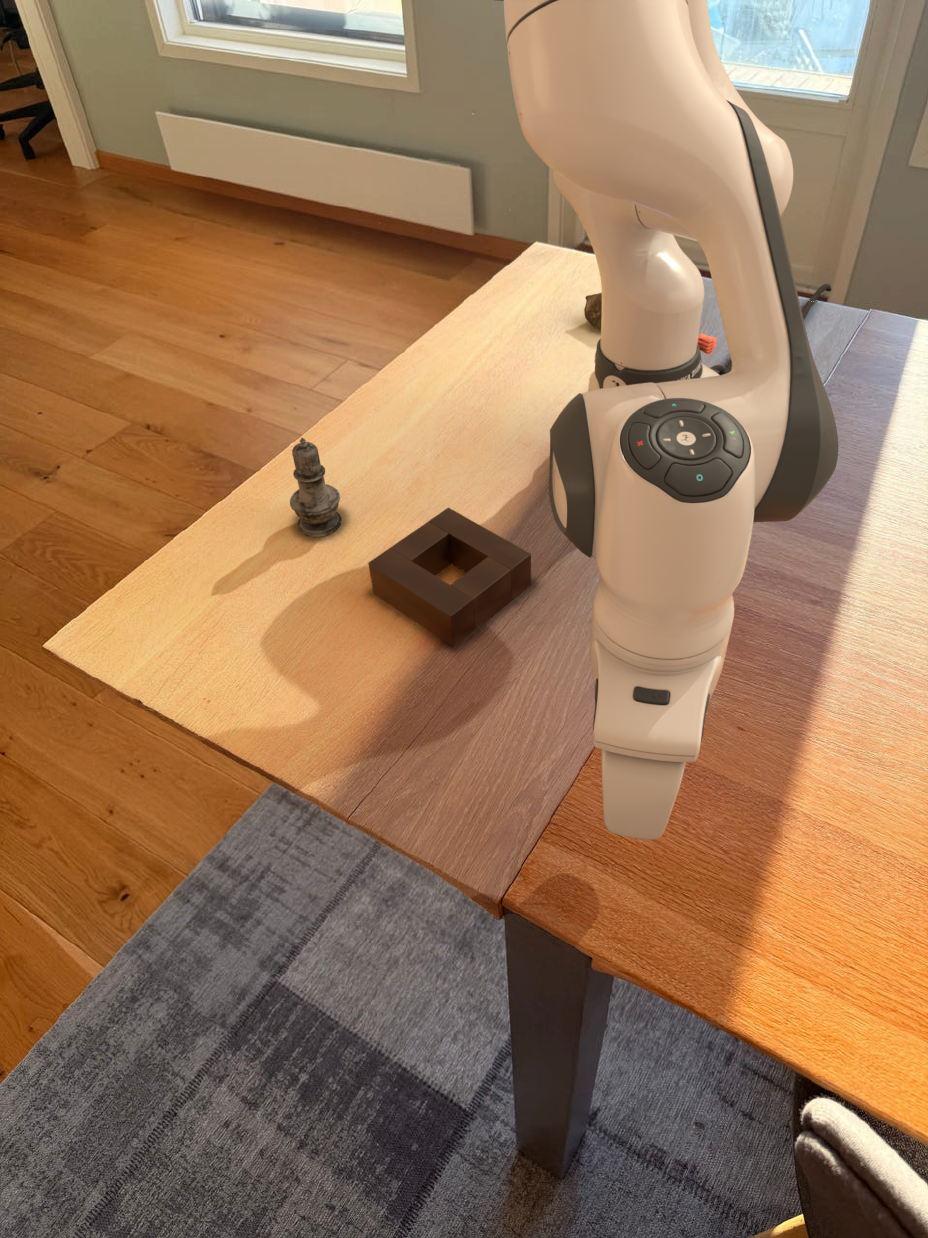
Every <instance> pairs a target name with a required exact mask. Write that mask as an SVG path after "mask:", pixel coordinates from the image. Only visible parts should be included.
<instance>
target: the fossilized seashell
mask: <svg viewBox="0 0 928 1238" xmlns="http://www.w3.org/2000/svg"><path fill="white" fill-rule="evenodd" d="M583 311H584V317H585V320H586V322H588V324H589V325H590V326H591V327H593V328H594V329H596V330H601V318H602V291H600V292H598V293H594V294H588V295H586V296H585V304H584V309H583Z"/></svg>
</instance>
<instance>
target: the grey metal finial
mask: <svg viewBox="0 0 928 1238" xmlns="http://www.w3.org/2000/svg"><path fill="white" fill-rule="evenodd" d="M291 451H292V452H291V455H292V459H293V464H294V468H295V469H294V470H293V472H292V473H293V477H294V479H295V480H297V485H298V489H297V490H296V491H295V492H293V494H292V495H291V497H290V498H289V506H290V508H291V510H292V511H293V512H294V513H295V514H296V516H297V517H298V520H297V529H298V531H299V533H301V534H302V535H304V536H306V537H311V538H321V537H326V536H330V535H331V534H334V533H335V532H336V531H338V530H339V528H340V527H341V526H342V523H343V518H342V515H341V513H339V512H338V507H339V503H340V500H341V493H340V492H339V489H337V488H336V487H334V486H332V485H330V484H327V483H326V481H325V475H326V468H325V467H324V465H322V464H321V459H320V454H319V449H318V446H317V445H315V444H314V443H313V442H310V441H307V440H306V439H305V438H303V437H301V438H300V440H299V442H298V443H297V444H296V445H294V446H293V448H292V450H291Z"/></svg>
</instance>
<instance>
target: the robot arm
mask: <svg viewBox="0 0 928 1238" xmlns="http://www.w3.org/2000/svg"><path fill="white" fill-rule="evenodd" d="M494 1H497V2H503V12H504V13H503V15H504V17H503V18H504V28H505V40H506V41H505V42H506V45H507V47H506V49H507V50H506V51H507V59H508V68H509V75H510V81H511V82H510V83H511V89H512V95H513V101H514V105H515V110H516V114H517V118H518V122H519V126H520V130H521V132H522V135H523V137H524V139H525V141H526V143H527V144H528V145H529V147H530V149H531V150H532V151H533V152H534V154H535V155H536V156H537V157H538V159H539V160H540V161H541V162H543V163H544V165H546V166H547V167H548V168H549V169H550V170H551V173H552V179H553V182H554V185H555V187H556V189H557V191H558V193H559V194H560V195H561V196H562V197H563V199H565V201H566V202H567V203H568V204H569V205H570V207H571V208H572V209H573V210H574V213H575V214H576V215H577V217H578V219H579V220H580V222H581V224H582V226H583V228H584V230H585V233H586V234H587V237H588V240H589V242H590V245H591V247H592V251H593V253H594V256H595V260H596V263H597V267H598V272H599V276H600V285H601V286H600V287H601V292H602V318H601V329H600V338H599V340H598V341H597V344H596V349H595V353H594V362H593V363H594V371H593V372H591V374H590V375H589V378H588V385H587V391H586V392H582V393H580V392H579V393H578V394H576V395H575V396H574V397H573V398H571V400H570V401H569V402H568V403H567V404H566V405H565V407H564V408H563V409H562V410H561V412H560V413H559V414H558V416H557V418H556V419H555V421H554V422H553V424H552V425H551V427H550V429H549V476H548V491H549V492H548V494H549V505H550V508H551V509H550V510H551V513H552V516H553V519H554V521H555V523H556V525H557V527H558V530H560V532H561V533H562V534H563V535H564V536H565V537H566V538H567V540H569V542H570V543H572V544H573V545H574V546H575V548H577V550H579V551H580V552H581V553H582V554H583V555H584V556H585V557H587V558H589V559H590V558H594V559H595V562H596V567H597V571H598V573H599V575H598V582H597V585H596V587H595V591H594V593H593V597H592V603H591V604H592V605H591V618H590V619H591V620H590V635H589V652H588V653H589V654H588V655H589V660H590V666H591V675H592V680H593V685H594V710H593V711H594V712H593V722H592V745H593V747H594V748H596V749H598V750H601V792H602V793H601V794H602V795H601V796H602V810H603V811H602V813H603V814H602V815H603V823H604V826H605V828H606V829H607V830H608V831H609V832H610V833H612V834H614V835H617V836H620V837H626V838H631V839H636V840H646V841H654V840H658V839H660V838H661V837H663V835H664V833H665V832H666V828H667V826H668V823H669V821H670V818H671V814H672V812H673V809H674V806H675V803H676V800H677V798H678V795H679V790H680V788H681V784H682V780H683V777H684V774H685V768H686V765H687V763H692V764H693V763H695V762H696V761H697V760H698V759H699V754H700V751H701V746H702V743H703V742H702V741H703V737H704V729H705V722H706V716H707V712H708V708H709V703H710V700H711V698H712V696H713V694H714V691H715V689H716V687H717V685H718V682H719V679H720V676H721V674H722V671H723V668H724V663H725V659H726V654H727V649H728V646H729V642H730V641H729V640H730V636H731V632H732V627H733V623H734V620H735V619H734V618H735V601H734V595H733V593H734V592H735V590H736V589H737V587H738V586H739V584H740V582H741V580H742V578H743V576H744V574H745V569H746V566H747V562H748V556H749V552H750V551H749V550H750V546H751V541H752V534H753V528H754V527H753V526H754V523H773V522H776V523H777V522H788V521H791V520H793V519H794V518H795V517H797V516H798V515H800V514H801V513H802V512H803V511H804V510H805V509H806V508H808V507H809V505H810V504H811V503H812V502H813V501H814V500H815V499H816V498H817V497H818V496H819V494H820V493H821V492H822V491H823V489H824V488H825V487H826V485H827V484H828V483H829V481H830V480H831V477H832V476H833V475H834V473H835V471H836V467H837V465H838V460H839V459H838V457H839V435H838V428H837V423H836V419H835V415H834V412H833V408H832V405H831V402H830V399H829V396H828V393H827V391H826V388H825V386H824V382H823V381H822V378H821V376H820V373H819V370H818V368H817V365H816V363H815V359H814V356H813V353H812V349H811V345H810V341H809V337H808V332H807V328H806V323H805V319H806V318H807V316H808V314H809V313H810V310H811V308H812V306H813V305H814V303H815V302H817V300H818V299H819V297H820V296H821V295H822V294H823V293H824V292H825V291H826V292H832V290H833V289H832V286H831V284H829V283H823V284H822V285H821V286H820V287H818V288H817V290H815V292H814V293H813V294H812V296H811V297H810V298H809V299H808V300H810V301H808V300H807V301H806V303H805V305H804V306H803V309H802V307H801V306H802V305H801V302H800V298H799V293H798V289H797V284H796V281H795V276H794V271H793V267H792V263H791V258H790V254H789V249H788V244H787V240H786V235H785V231H784V227H783V226H784V225H783V223H782V216H783V214H784V212H785V210H786V208H787V206H788V203H789V201H790V198H791V195H792V191H793V186H794V185H793V184H794V166H793V164H794V163H793V159H792V155H791V151H790V148H789V147H788V145H787V142H786V141H785V140H784V139H783V138H781V137H780V136H779V135H777V134H776V133H775V132H773V131H772V130H771V129H770V128H769V127H767V126H766V125H765V124H764V123H763V122H762V121H761V120H760V119H759V118H758V117H757V116H756V115H755V114H754V112H753V111H752V109H750V107H749V106H748V105H747V103H746V102H745V101H744V99H743V98H742V96H741V95H740V94H739V92H738V91H737V89H736V87H735V85H734V83H733V82H732V80H731V78H730V76H729V75H728V72H727V71H726V69H725V67H724V64H723V63H722V60H721V58H720V55H719V53H718V51H717V48H716V43H715V41H714V36H713V32H712V25H711V19H710V12H709V6H708V0H494ZM676 237H679V238H683V239H686V240H691V241H694V242H697V244H698V245H699V246H700V247H701V249H702V252H703V253H704V255H705V258H706V261H707V264H708V268H709V272H710V277H711V281H712V285H713V290H714V293H715V297H716V302H717V306H718V311H719V314H720V318H721V322H722V327H723V332H724V335H725V340H726V344H727V348H728V352H729V356H730V357H729V358H730V360H729V362H728V364H727V365H726V367H724V366H723V365H721V364H717V365H713V366H711V367H709V366H708V365H706V364H704V363H703V361H702V353H701V352H703V353H704V354H706V355H711V354H712V353H713V352H714V350H715V349H716V347H717V341H718V340H717V338H716V337H715V336H711V335H707V334H705V333H700V328H701V322H702V315H703V307H704V301H705V293H706V292H705V291H706V290H705V285H704V281H703V280H704V279H703V277H702V274H701V271H700V270H699V269H698V267H697V266H696V265H695V263H694V262H693V261H692V260H691V259H690V257H688V255H687V254H686V253H685V252H684V251H683V250H682V249H681V247H680V245H679V244H678V242H677V239H676ZM811 301H812V302H811ZM813 301H815V302H813Z"/></svg>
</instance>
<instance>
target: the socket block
mask: <svg viewBox="0 0 928 1238" xmlns="http://www.w3.org/2000/svg"><path fill="white" fill-rule="evenodd" d="M367 564H368V570H369V577H370V582H371V588H372V593H373V594H374V595H375V596H376V597H378V598H380V599H381V600H382V601H384V602H385V603H387V604H388V605H390V606H391V607H393V608H394V609H396V611H397V610H398V611H399V612H401V613H402V614H404V616H407V617H408V618H409V619H410V620H412V621H414V622H415V623H417V624H418V625H420V626H421V627H423V628H424V629H426V630H427V631H429V632H430V633H432V634H433V635H435V636H436V637H438V638H439V639H441V640H442V641H444V642H445V643H447V644H448V645H450V646H451V647H453V648H454V647H456V646H457V645H458V644H459V643H460V642H461V641H463V640H464V639H465V638H467V637H468V636H469V635H470V634H472V633H473V632H474V631H475V630H476V629H478V628H479V627H480V626H481V625H482V624H484V623H486V621H487V620H489V619H490V618H491V617H493V616H494V615H495V614H496V613H498V612H499V611H500V610H502V609H503V608H504V607H506V605H508V604H509V603H510V602H511V601H512V600H514V599H515V598H517V597H518V596H519V595H520V594H521V593H523V592H524V591H525V590H526V589H527V588H528V587H530V586H531V585H532V553H530V552H529V551H527V550H525V549H523V548H522V547H520V546H518V545H516V544H514V543H513V542H511V541H509V540H507V539H506V538H504V537H502V536H500V535H499V534H497V533H494V532H493V531H492V530H489V529H488V528H486V527H484V526H483V525H480V524H479V523H477V522H475V521H473V520H472V519H470V518H468V517H466V516H464V515H463V514H461V513H459V512H457V511H456V510H454V509H452V508H451V507H447V508H445V509H443V510H442V511H440V512H439V513H438V514H436V515H435V516H434V517H432V518H431V519H429V520H428V521H426V522H425V523H423V524H422V525H420V526H419V527H418V528H416V529H415V530H414V531H412V532H411V533H409V534H408V535H407V536H405V537H404V538H402V539H401V540H399V541H398V542H397V543H395V544H394V545H392V546H391V547H389V548H387V549H386V550H385V551H383V552H381V553H380V554H379V555H378V556H376V557H375V558H373V559H372V560H370V561H368V562H367ZM450 565H452V566H454V567H456V568H458V569H459V570H462V572H464V574H462V576H460V577H459V578H457V580H455V581H454V582H452V583H451V584H450V583H448V582H446V581H445V580H443V579H441V578H439V577H438V576H437V575H438V574H439V573H441V572H442V571H444V570H445V569H447V568H448V567H449V566H450Z"/></svg>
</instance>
